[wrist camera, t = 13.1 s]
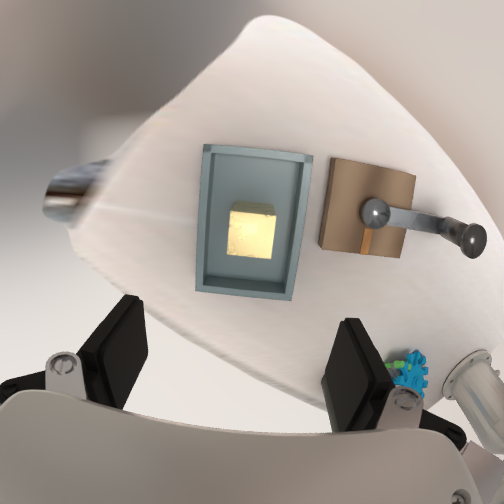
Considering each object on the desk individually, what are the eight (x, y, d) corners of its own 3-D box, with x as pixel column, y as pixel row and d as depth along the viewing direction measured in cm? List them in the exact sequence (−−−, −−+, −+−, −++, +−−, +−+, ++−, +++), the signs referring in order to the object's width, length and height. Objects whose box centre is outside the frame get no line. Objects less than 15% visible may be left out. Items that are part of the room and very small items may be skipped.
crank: (357, 225, 30) (382, 246, 23) (362, 193, 28) (390, 205, 22) (448, 240, 30) (481, 260, 23) (454, 213, 29) (489, 228, 22)
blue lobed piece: (436, 374, 38) (414, 423, 33) (408, 375, 43) (385, 420, 38) (417, 333, 37) (392, 387, 32) (387, 336, 42) (360, 384, 37)
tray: (307, 155, 30) (313, 155, 26) (288, 286, 35) (291, 300, 31) (209, 145, 29) (203, 144, 26) (201, 277, 34) (195, 290, 31)
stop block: (272, 204, 31) (276, 215, 25) (268, 239, 32) (270, 259, 26) (235, 200, 31) (230, 211, 25) (232, 236, 32) (226, 254, 26)
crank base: (408, 174, 30) (416, 175, 28) (392, 252, 33) (400, 258, 31) (331, 157, 30) (336, 158, 27) (318, 243, 33) (322, 249, 31)
